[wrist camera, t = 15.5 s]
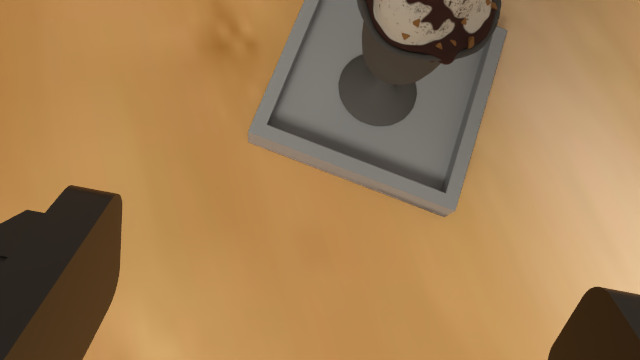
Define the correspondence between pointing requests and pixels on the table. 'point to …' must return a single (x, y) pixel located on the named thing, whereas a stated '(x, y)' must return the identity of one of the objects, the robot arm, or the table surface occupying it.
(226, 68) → the table surface
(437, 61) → the sundae
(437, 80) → the tray
